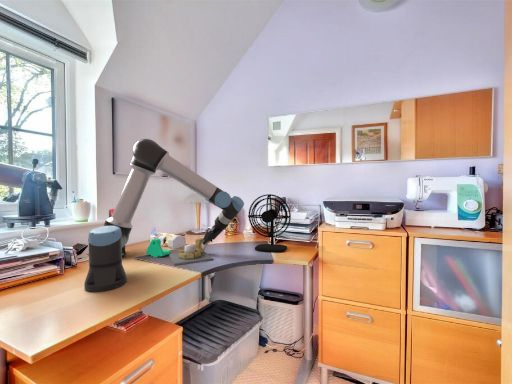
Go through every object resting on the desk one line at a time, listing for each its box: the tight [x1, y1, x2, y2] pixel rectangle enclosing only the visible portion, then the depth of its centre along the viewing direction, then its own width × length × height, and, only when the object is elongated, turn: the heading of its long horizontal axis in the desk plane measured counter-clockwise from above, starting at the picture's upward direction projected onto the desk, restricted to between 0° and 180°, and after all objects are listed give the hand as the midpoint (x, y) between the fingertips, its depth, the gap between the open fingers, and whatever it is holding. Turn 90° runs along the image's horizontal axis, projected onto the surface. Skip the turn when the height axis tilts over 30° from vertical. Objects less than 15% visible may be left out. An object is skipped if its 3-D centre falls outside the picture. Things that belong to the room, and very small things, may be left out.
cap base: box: [168, 243, 213, 267], centre depth 143 cm, size 20×20×7 cm
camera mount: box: [145, 237, 172, 258], centre depth 150 cm, size 12×8×10 cm, turn 66°
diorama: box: [149, 228, 186, 250], centre depth 175 cm, size 25×10×13 cm, turn 56°
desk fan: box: [247, 193, 292, 253], centre depth 160 cm, size 27×18×35 cm, turn 73°
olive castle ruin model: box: [178, 237, 206, 259], centre depth 145 cm, size 16×12×8 cm
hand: (202, 247), depth 148 cm, fingers closed
